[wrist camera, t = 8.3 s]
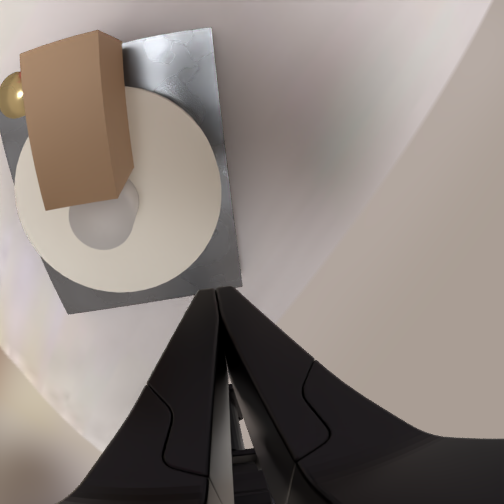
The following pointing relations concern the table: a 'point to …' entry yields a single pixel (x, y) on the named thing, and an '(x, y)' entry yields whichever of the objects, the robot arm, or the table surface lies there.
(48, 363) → the table surface
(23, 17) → the table surface
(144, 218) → the flange
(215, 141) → the base plate
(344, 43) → the table surface
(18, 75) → the gold rounded piece
